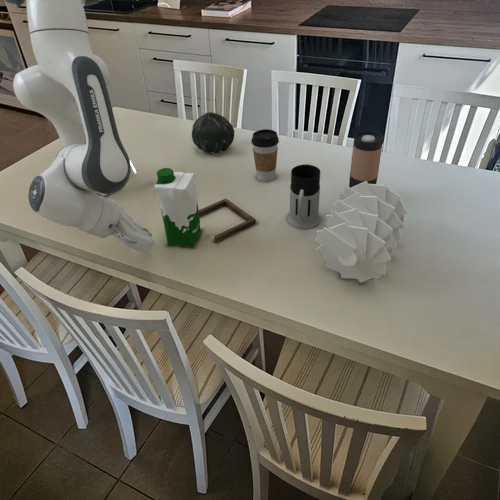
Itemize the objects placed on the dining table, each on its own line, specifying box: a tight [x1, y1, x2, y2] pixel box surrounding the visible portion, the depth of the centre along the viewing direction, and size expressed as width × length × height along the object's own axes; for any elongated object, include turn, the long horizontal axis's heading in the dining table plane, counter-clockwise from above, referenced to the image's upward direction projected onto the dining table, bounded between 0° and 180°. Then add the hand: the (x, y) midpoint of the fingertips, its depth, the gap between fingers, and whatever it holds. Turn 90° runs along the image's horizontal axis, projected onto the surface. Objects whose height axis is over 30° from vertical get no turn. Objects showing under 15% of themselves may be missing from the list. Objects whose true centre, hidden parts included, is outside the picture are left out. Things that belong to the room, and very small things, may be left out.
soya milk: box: [153, 167, 202, 248], centre depth 114 cm, size 9×9×20 cm
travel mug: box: [348, 130, 384, 188], centre depth 125 cm, size 8×8×20 cm
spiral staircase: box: [314, 181, 409, 284], centre depth 106 cm, size 18×18×25 cm
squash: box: [191, 111, 235, 155], centre depth 157 cm, size 14×15×15 cm
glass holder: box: [287, 164, 321, 229], centre depth 118 cm, size 9×14×15 cm, turn 167°
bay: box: [198, 198, 257, 243], centre depth 125 cm, size 14×13×2 cm
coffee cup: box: [250, 128, 280, 183], centre depth 139 cm, size 8×8×15 cm
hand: (148, 234), depth 112 cm, fingers closed
